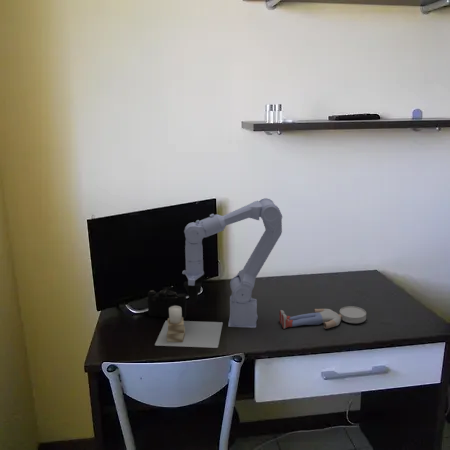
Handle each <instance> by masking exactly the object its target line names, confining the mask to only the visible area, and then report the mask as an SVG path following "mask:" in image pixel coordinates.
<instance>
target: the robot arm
mask: <svg viewBox="0 0 450 450" xmlns="http://www.w3.org/2000/svg"><path fill="white" fill-rule="evenodd" d="M260 218H261V220H262V223H263V226H264V232H263V233H262V235H261V237H260V238H259V241H258V242H257V244H256V246H255V248H253V250H252V253H251V254H250V256H249V258H248V260H247V261H246V263H245V265H244V267H243V268H242V269H241V270H239V272H237V274H236V275H235V276H233V277H232V278H231V280H230V282H229V287H230V290H231V295H230V296H229V317H228V319H229V320H228V327H230V328H249V329H250V328H251V329H255V328H257V322H258V321H257V320H258V319H259V318H258V313H257V312H258V308H257V307H258V300H257V298H253V297H252V295H253V294H252V293H253V289H254V287H255V284H256V283H255V282H256V278H257V276H258V275H259V273H260V271H261V269H262V268H263V267H264V264H265V263H266V261H267V259H268V257H269V256H270V255H271V252H272V251H273V249H274V247H275V245H276V244H277V242H278V241H279V239H280V237H281V236H282V233H283V226H282V225H283V223H282V222H283V221H282V219H283V215H282V212H281V210H280V208H279V207H278V205H276V204H275V202H274V201H273V200H271V198H267V197H265V198H261V199H260V200H255V201H253V202H251V203H249V204H246V205H244V206H241V207H240V208H237V209H235V210H233V211H230V212H228V213H226V214H224V215H221V214H214V213H211V214H209V216H208V217H205V218H203V219H201V220H199V219H197V220H196V221H195V222H194V221H193V222H189V223H188V224H186V226H185V227H184V230H183V233H184V237H185V241H184V242H185V245H184V248H185V249H184V253H185V254H184V256H185V269H184V270H182V273H181V274H182V275H185V276H186V278H187V281H184V282H183V287H184V288H185V290H186V293H187V296H188V299H189V302H190V303H197V302H198V298H199V294H200V293H201V290H202V284H203V279H204V278H205V277H204V276H205V274H206V271H204V259H203V258H204V256H203V255H204V253H203V252H204V251H203V250H204V249H203V239H204V238H209V237H210V236H213V235H215V234H218V233H220V232H223V231H224V230H225V229H226V226H228V225H232V224H235V223H237V222H241V221H243V220H244V221H245V220H247V219H253V220H256V221H260Z"/></svg>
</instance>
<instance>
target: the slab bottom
mask: <svg viewBox="0 0 450 450" xmlns="http://www.w3.org/2000/svg"><path fill="white" fill-rule="evenodd" d="M184 337H185V326H184V333H177V334H168V332H167V342H183V340H184Z"/></svg>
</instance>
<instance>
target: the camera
mask: <svg viewBox="0 0 450 450" xmlns="http://www.w3.org/2000/svg"><path fill="white" fill-rule="evenodd" d="M171 306H180V307H181V308H182V317H183V320H184V319H186V317H187V296H186V294H184V293H177V292H176V291H174V290H169V289H167V288H165V289H164V288H163V289H162V290H160V291H158V292H157V291H155V290H154V289H152V290H151V289H150V290H149V291H148V292H147V309H148V310H147V311H148V314H147V315H148V316H150V317H156V318H157V317H158V318H167V319H168V318H169V308H170V307H171Z"/></svg>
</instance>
